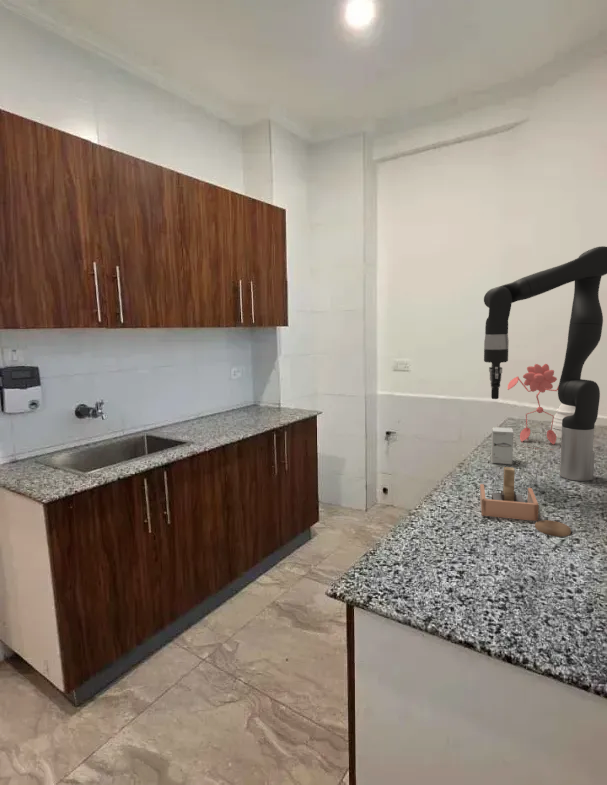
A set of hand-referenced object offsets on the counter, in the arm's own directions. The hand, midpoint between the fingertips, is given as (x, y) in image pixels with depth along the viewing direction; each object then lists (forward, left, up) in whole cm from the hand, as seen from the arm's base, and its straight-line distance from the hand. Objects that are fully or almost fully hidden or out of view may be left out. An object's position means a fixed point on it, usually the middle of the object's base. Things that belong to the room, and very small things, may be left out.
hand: (494, 398), depth 152 cm
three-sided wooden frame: (-2, +30, -27) cm, 40 cm away
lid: (-12, +41, -27) cm, 51 cm away
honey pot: (-35, -66, -27) cm, 80 cm away
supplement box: (-4, -17, -27) cm, 32 cm away
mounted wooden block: (-2, +30, -27) cm, 41 cm away
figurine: (-20, -46, -27) cm, 57 cm away
